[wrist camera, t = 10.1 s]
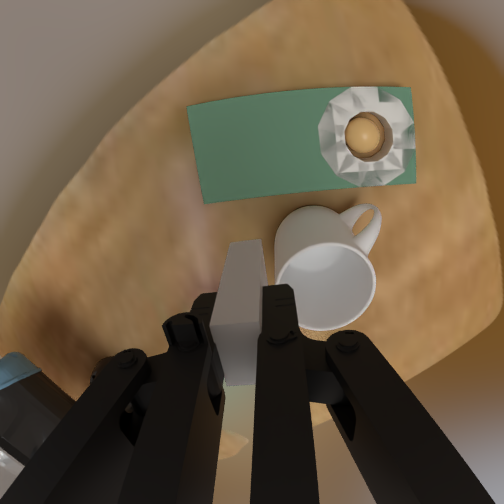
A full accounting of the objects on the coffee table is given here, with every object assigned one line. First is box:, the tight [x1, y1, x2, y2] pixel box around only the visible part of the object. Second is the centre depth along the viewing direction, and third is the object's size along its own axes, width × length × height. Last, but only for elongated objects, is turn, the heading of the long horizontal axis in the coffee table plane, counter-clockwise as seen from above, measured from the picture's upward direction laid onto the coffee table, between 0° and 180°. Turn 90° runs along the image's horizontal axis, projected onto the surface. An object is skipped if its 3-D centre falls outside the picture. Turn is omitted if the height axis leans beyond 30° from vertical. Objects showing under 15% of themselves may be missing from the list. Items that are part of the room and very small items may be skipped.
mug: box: [274, 204, 382, 331], centre depth 30 cm, size 9×12×11 cm
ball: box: [344, 117, 380, 153], centre depth 29 cm, size 4×4×4 cm
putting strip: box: [187, 87, 416, 204], centre depth 30 cm, size 22×10×2 cm, turn 98°
